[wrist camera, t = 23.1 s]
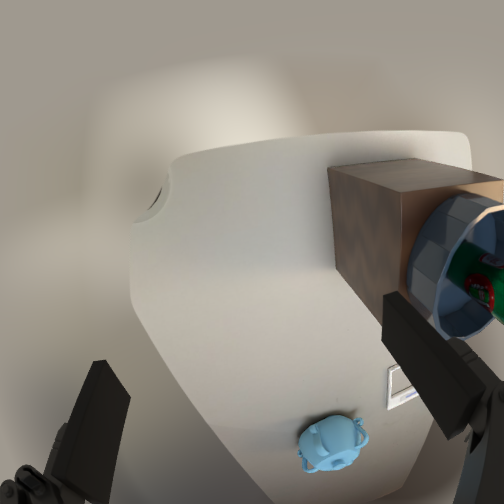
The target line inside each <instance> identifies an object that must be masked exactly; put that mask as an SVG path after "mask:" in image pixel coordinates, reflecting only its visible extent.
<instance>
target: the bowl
mask: <svg viewBox="0 0 504 504" xmlns="http://www.w3.org/2000/svg"><path fill="white" fill-rule="evenodd" d="M465 242H472V243H474V244H476V245H478V246H479V247H481V248H483V249H485V250H486V251H488V252H490V253H492V254H493V255H495V256H497V257H498V258H500V259H502V260H503V261H504V204H503V203H501V202H498V201H495V200H493V199H490V198H487V197H485V196H482V195H479V194H476V193H460V194H456V195H454V196H452V197H450V198H448V199H447V200H445V201H444V202H443V203H441V204H440V205H439V206H438V207H437V208H436V209H435V210H434V211H433V212H432V213H431V215H430V216H429V217H428V219H427V220H426V222H425V223H424V225H423V226H422V228H421V230H420V232H419V234H418V236H417V238H416V240H415V243H414V245H413V248H412V251H411V254H410V257H409V262H408V267H407V277H406V284H407V292H408V296H409V299H410V302H411V304H412V305H413V307H414V308H415V309H416V310H417V311H418V312H419V313H420V314H421V315H422V316H423V317H424V318H425V319H426V320H427V321H428V322H429V323H430V324H431V325H432V326H433V327H434V328H435V329H436V330H437V332H438V333H439V334H440V335H441V336H442V337H443V338H444V339H445V340H448V339H450V338H452V337H454V336H455V337H457V338H459V339H461V340H463V341H465V340H466V339H469V338H471V337H472V336H474V335H476V334H478V333H480V332H481V331H482V330H483V329H484V328H485V327H486V326H487V325H489V324H490V323H491V322H492V321H493V320H494V319H495V317H494V316H492V315H491V314H490V313H489V312H488V311H487V310H485V309H484V308H483V307H482V306H481V305H479V304H478V303H477V302H476V301H474V300H473V299H472V298H471V297H469V296H468V295H467V294H466V293H464V292H463V291H462V290H461V289H459V288H458V287H457V286H455V285H454V284H453V283H452V282H451V281H450V280H449V276H448V268H449V265H450V263H451V260H452V257H453V255H454V253H455V252H456V250H457V249H458V247H459V246H460V245H461V244H463V243H465Z"/></svg>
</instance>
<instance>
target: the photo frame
mask: <svg viewBox="0 0 504 504" xmlns="http://www.w3.org/2000/svg"><path fill="white" fill-rule="evenodd" d="M399 368H400V366H399V365H398V364H397V365H395V366H393V367H391V368H388V394H387V409H388V410H390V409H392V408H394V407H396V406H398V405H400V404H402V403H404V402H406V401H408V400H410V399H412V398H414V397H416V396H418V395H419V394H418V393H417V391H416V390H415V388H414V387H413V386H411V387H409V388H407V389H405V390H403V391H401V392H399V393H397V394H395V395H392V396H391V386H392V372H393V371H395V370H397V369H399Z"/></svg>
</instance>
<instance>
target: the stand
mask: <svg viewBox="0 0 504 504" xmlns="http://www.w3.org/2000/svg"><path fill="white" fill-rule="evenodd" d="M327 170H328V178H329V187H330V197H331V207H332V218H333V231H334V245H335V261H336V270H337V271H338V272H339V273H340V275H341V276H342V277H343V278H344V279H345V281H346V282H347V283H348V284H349V286H350V287H351V288H352V289H353V290H354V292H355V293H356V294H357V295H358V297H359V298H360V299H361V300H362V302H363V303H364V304H365V305H366V307H367V308H368V309H369V310H370V312H371V313H372V314H373V316H374V317H375V318H376V319H377V321H378V322H379V323H380V325H381V326H382V315H383V295H385V294H388V293H391V292H394V291H398V292H399V293H400V294H401V295H402V296H403V297H404V298H405V299H406V300H407V301H408V302H409V303H410V304H411V302H410V299H409V296H408V292H407V284H406V277H407V267H408V262H409V257H410V254H411V251H412V248H413V245H414V243H415V240H416V238H417V236H418V234H419V232H420V230H421V228H422V226H423V225H424V223H425V222H426V220H427V219H428V217H429V216H430V215H431V213H432V212H433V211H434V210H435V209H436V208H437V207H438V206H439V205H440V204H441V203H443V202H444V201H445V200H447V199H448V198H450V197H452V196H454V195H456V194H460V193H476V194H479V195H482V196H485V197H487V198H490V199H493V200H495V201H498V202H501V203H503V186H504V185H503V183H504V180H503V179H499V178H496V177H492V176H489V175H485V174H482V173H478V172H474V171H470V170H466V169H462V168H458V167H454V166H449V165H445V164H440V163H436V162H431V161H426V160H421V159H404V160H393V161H382V162H372V163H363V164H354V165H346V166H338V167H330V168H327ZM411 305H412V304H411ZM412 306H413V305H412Z"/></svg>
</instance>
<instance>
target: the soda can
mask: <svg viewBox="0 0 504 504" xmlns="http://www.w3.org/2000/svg"><path fill="white" fill-rule="evenodd" d="M448 276H449V280H450V281H451V282H452V283H453V284H454V285H455V286H457V287H458V288H459V289H461V290H462V291H463V292H464V293H466V294H467V295H468V296H469V297H471V298H472V299H473V300H474V301H476V302H477V303H478V304H479V305H481V306H482V307H483V308H484V309H485V310H487V311H488V312H489V313H490V314H491V315H492V316H494V317H495V318H496V319H497V320H498V321H499V322H501V323H502V324H503V325H504V261H503V260H502V259H500V258H498V257H497V256H495V255H493V254H492V253H490V252H488V251H486V250H485V249H483V248H481V247H479V246H478V245H476V244H474V243H472V242H465V243H463V244H461V245H460V246H459V247H458V249H457V250H456V252H455V253H454V255H453V257H452V260H451V263H450V265H449V268H448Z"/></svg>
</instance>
